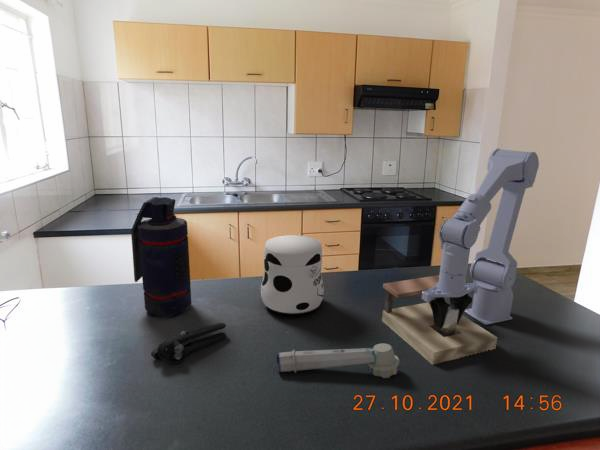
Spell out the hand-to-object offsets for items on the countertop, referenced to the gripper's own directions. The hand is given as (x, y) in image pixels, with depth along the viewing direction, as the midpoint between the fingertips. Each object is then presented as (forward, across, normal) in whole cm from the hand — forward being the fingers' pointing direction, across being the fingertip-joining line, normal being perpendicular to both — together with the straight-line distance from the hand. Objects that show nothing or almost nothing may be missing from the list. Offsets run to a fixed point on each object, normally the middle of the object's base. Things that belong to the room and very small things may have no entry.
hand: (446, 324), depth 97 cm
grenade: (+5, +61, -38) cm, 72 cm away
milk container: (+5, +28, -29) cm, 41 cm away
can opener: (+5, +56, -16) cm, 59 cm away
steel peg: (+2, 0, 0) cm, 2 cm away
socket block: (+4, 0, -3) cm, 5 cm away
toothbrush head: (+5, +29, +2) cm, 30 cm away
